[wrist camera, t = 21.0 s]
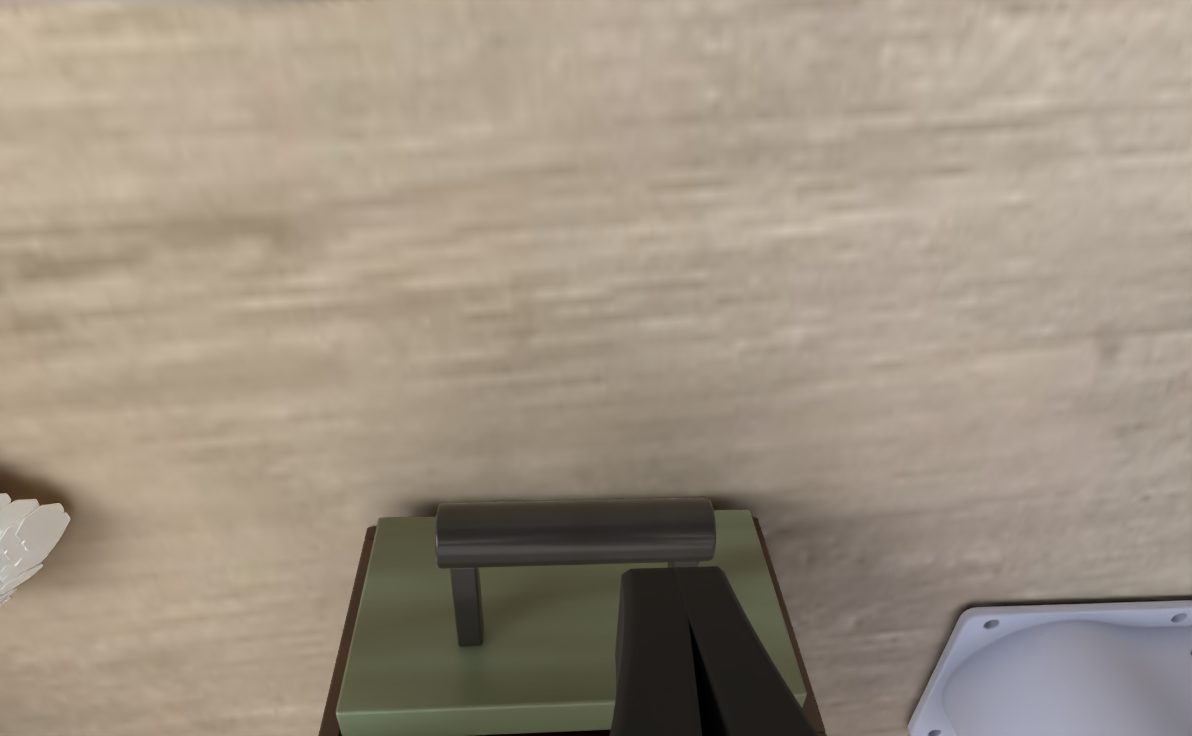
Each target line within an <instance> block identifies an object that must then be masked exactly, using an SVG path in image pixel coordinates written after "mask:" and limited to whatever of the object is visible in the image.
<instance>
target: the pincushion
mask: <svg viewBox="0 0 1192 736" xmlns="http://www.w3.org/2000/svg"><path fill="white" fill-rule="evenodd" d="M10 502H11V498H10V497H9V496H8V494H7V493H0V601H1V602H0V605H2V604H4V603H5V602H7V601H8V600H10V599H11V598H13V597H12V596H10V597H8V596H9V595H11V594H12V593H14V592H15V591H16V590H18V589H17V588H15V587H16V586H18V585H19V584H21V583H22V582H24V581H25V580H27V579H28V578H30V577H31V576H33V575H34V574H35V573H36V572H37V571H38V570H40V569H41V568H42V567H43V565H42V563H41V562H42V561H43V560H44V559H45V558H46V557H47V556H48V555H49V554H50V553H49V552H50V551H51V550H52V549H53V548H54V547H55V545H56V544H57V542H58V541H59V539H60V538H61V537H62V536H61V535H63V533H64V531H65V529H66V527H67V525H68V523H69V521H70V520H71V519H70V517H69V516H68V514H67V513H66V512H64V508H63V507H62V505H61V504H60V503H54V504H47V505H41V506H40V505H39V503H38V501H37V500H36V499H23V500H16V501H14V502H12V503H10ZM9 503H10V504H9ZM13 588H14V589H13ZM6 597H8V598H6ZM5 598H6V599H5ZM3 599H4V600H3Z"/></svg>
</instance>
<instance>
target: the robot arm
mask: <svg viewBox="0 0 1192 736" xmlns="http://www.w3.org/2000/svg"><path fill="white" fill-rule="evenodd" d="M615 662H616V700H615V707H614V714H613V720H612V725H611V730H610V735H609V736H820V735H819V733H818V732H817V730H816V729H815V728H814V726H813V725H812V723H811V721H810V720H809V718H808V717H807V715H806V714H805V712H804V711H803V709H802V707H801V706H800V704H799V703H798V701H797V700H796V698H795V696H794V695H793V693H792V692H791V690H790V689H789V687H788V686H787V684H786V682H785V681H784V679H783V678H782V676H781V674H780V673H779V671H778V669H777V668H776V666H775V664H774V663H773V661H772V660H771V658H770V656H769V654H768V653H767V651H766V649H765V647H764V646H763V644H762V642H761V641H760V639H759V637H758V635H757V634H756V632H755V630H754V628H753V626H752V625H751V623H750V621H749V619H748V617H747V616H746V614H745V612H744V610H743V608H742V606H741V604H740V602H739V601H738V599H737V597H736V595H735V593H734V591H733V589H732V587H731V585H730V583H729V581H728V579H727V576H726V574H725V572H724V571H723V570H722V569H720V568H719V567H718V566H707V567H671V568H636V569H629V570H628V571H626V572H625V573H623V574H622V575H621V587H620V599H619V612H618V625H617V637H616V650H615ZM907 729H908V732H909V734H910V736H1192V600H1181V601H1151V602H1120V603H1090V604H1059V605H1029V606H999V607H975V608H970V609H968V610H966V611H964V612H963V613H962V614H961V616H960V617H959V619H958V622H957V624H956V626H955V628H954V630H953V632H952V634H951V636H950V638H949V640H948V642H947V645H946V647H945V649H944V651H943V653H942V655H941V657H940V659H939V661H938V663H937V665H936V668H935V670H934V672H933V674H932V676H931V678H930V680H929V682H928V684H927V686H926V688H925V690H924V693H923V695H922V697H921V699H920V701H919V703H918V705H917V707H916V709H915V711H914V713H913V716H912V718H911V720H910V722H909V724H908V726H907Z"/></svg>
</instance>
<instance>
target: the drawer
mask: <svg viewBox="0 0 1192 736" xmlns="http://www.w3.org/2000/svg"><path fill="white" fill-rule="evenodd" d="M707 566H718V567H719V568H720V569H722V570H723V571H724V572H725V574H726V576H727V579H728V581H729V583H730V585H731V587H732V589H733V591H734V593H735V595H736V597H737V599H738V601H739V602H740V604H741V606H742V608H743V610H744V612H745V614H746V616H747V617H748V619H749V621H750V623H751V625H752V626H753V628H754V630H755V632H756V634H757V635H758V637H759V639H760V641H761V642H762V644H763V646H764V647H765V649H766V651H767V653H768V654H769V656H770V658H771V660H772V661H773V663H774V664H775V666H776V668H777V669H778V671H779V673H780V674H781V676H782V678H783V679H784V681H785V682H786V684H787V686H788V687H789V689H790V690H791V692H792V693H793V695H794V696H795V698H796V700H797V701H798V703H799V704H800V706H801V707H802V708H803V705H804V702H805V698H806V695H807V692H806V689H805V686H804V683H803V680H802V676H801V673H800V670H799V667H798V664H797V660H796V657H795V654H794V651H793V647H792V644H791V641H790V638H789V635H788V631H787V628H786V625H785V622H784V619H783V615H782V612H781V609H780V606H779V602H778V599H777V596H776V593H775V590H774V586H773V583H772V580H771V577H770V573H769V570H768V567H767V564H766V561H765V557H764V554H763V551H762V548H761V545H760V541H759V538H758V535H757V532H756V528H755V525H754V522H753V519H752V516H751V512H750V510H748V509H740V510H714V509H713V506H712V503H711V501H710V499H709V498H706V497H694V498H648V499H601V500H555V501H509V502H463V503H441V504H439V506H438V509H437V513H436V516H435V517H391V518H379V520H378V524H377V528H376V533H375V537H374V542H373V546H372V551H371V555H370V560H369V564H368V569H367V573H366V578H365V582H364V587H363V591H362V596H361V600H360V605H359V609H358V614H357V618H356V623H355V627H354V632H353V636H352V641H351V645H350V650H349V654H348V659H347V663H346V668H345V672H344V677H343V681H342V686H341V690H340V695H339V699H338V704H337V708H336V716H337V719H338V723H339V727H340V730H341V734H342V736H485V735H498V734H521V733H545V732H568V731H591V730H611V725H612V720H613V714H614V707H615V700H616V662H615V650H616V637H617V625H618V612H619V599H620V587H621V575H622V574H623V573H625V572H626V571H628V570H629V569H636V568H671V567H707Z"/></svg>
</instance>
